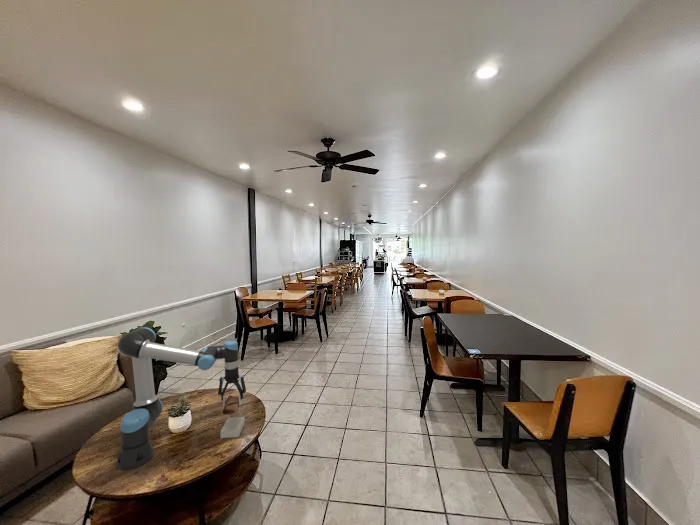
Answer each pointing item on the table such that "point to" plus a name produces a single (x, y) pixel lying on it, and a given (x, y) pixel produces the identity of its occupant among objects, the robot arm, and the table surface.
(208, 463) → the table surface
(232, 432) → the block
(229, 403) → the sunglasses case
